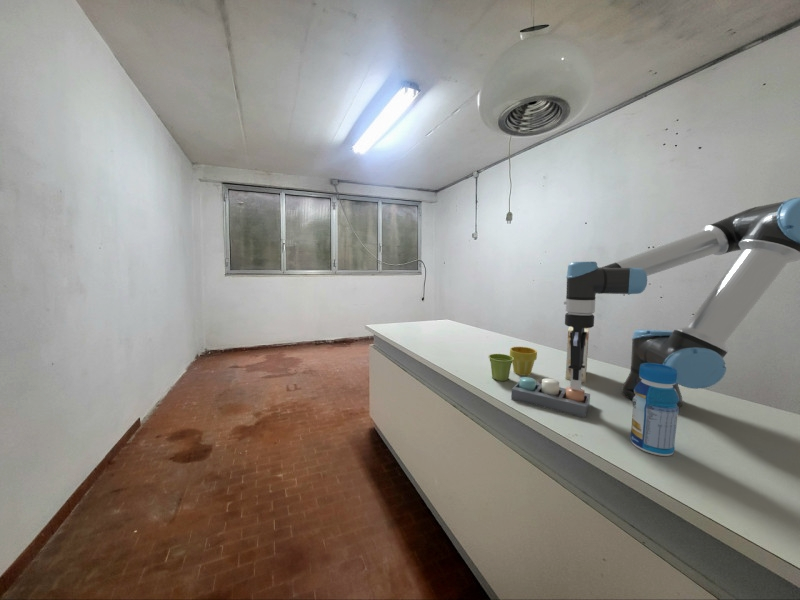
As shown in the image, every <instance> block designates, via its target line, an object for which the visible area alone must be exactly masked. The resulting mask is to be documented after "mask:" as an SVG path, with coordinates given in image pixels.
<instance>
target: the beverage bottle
mask: <svg viewBox="0 0 800 600" xmlns="http://www.w3.org/2000/svg"><path fill="white" fill-rule="evenodd" d="M639 377H640V378H641V379H642V380H641V381H640V382H639V383H638V384H637V385H636V386H635V388H634V393H635V396H634V397H633V400H631V401H632V412H631V413H632V414H631V428H630V438H629V440H630V442H631V443H632V444H633V446H635V447H636V448H637V449H639V450H641V451H643V452H645V453H648V454H651V455H655V456H661V457H669V456H672V455H673V454H674V453H675V444H676V443H675V441H676V433H677V426H678V425H677V423H678V422H677V421H678V415H679V414H680V409H679V408H680V407H678V406H677V403H678V402H679V396H678V393H677V391H676V390H675V388H674V387H673V386H672V385H675V384H676V381H677V370H676V369H675V368H673V367H670V366H667V365H662V364H656V363H642V364H641V365H640V369H639Z"/></svg>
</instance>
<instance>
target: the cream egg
mask: <svg viewBox="0 0 800 600" xmlns="http://www.w3.org/2000/svg"><path fill="white" fill-rule="evenodd" d="M541 383H542V391H541V393H544V394H548V395H552V396H557V397H558V396H559V387H560V382H559V380H556V379H554V378H542V379H541Z"/></svg>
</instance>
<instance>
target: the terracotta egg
mask: <svg viewBox="0 0 800 600" xmlns="http://www.w3.org/2000/svg"><path fill="white" fill-rule="evenodd" d="M565 389H566V397H565V399H570V400H574V401H578V402H583V403H584V395H585V393H586V392H585V390H584V389H582V388H581V390H580V391H579V390H575V389H570V386H567V387H565Z"/></svg>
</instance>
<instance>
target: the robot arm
mask: <svg viewBox="0 0 800 600" xmlns="http://www.w3.org/2000/svg"><path fill="white" fill-rule="evenodd" d="M736 251H740V253H739V254H738V255H737V257H736V258H735V259H734V261H733V262H732V263H731V265H730V266H729V268H728V269H727V270H726V272H725V273H724V274H723V275H722V277H721V278H720V279H719V281H718V282H717V284H715V287H713V289H712V291H711V292H710V293H709V295H708V296H707V297H706V298H705V300H704V301H703V303H701V305H700V307H699V308H698V309H697V311H696V312H695V313H694V315H693V316H692V317H691V319H690V320H689V321H688V322H687V324H686V325H685V326H683V327H678V328H675V329H674V330H665V329H648V328H647V329H636V330H634V332H633V335H632V338H631V341H632V345H631V357H630V359H631V360H630V371H629V374H628V375H627V377H626V380H625V381H624V384H623V385H622V391H621V392H622V393H621V394H622V395H623V396H624V397H626V398H628V399H630V400H631V401H633V397H634V396H635V393H634V388H635V386H636V385H637V384H638V383H639V382H640V381H641V380H642V379H641V378H640V377H639V369H640V365H641V364H642V363H656V364H662V365H667V366H670V367H673V368H675V369H676V370H677V381H676V384H675V385H672V386H673V387H674V388H675V390H676V391H677V393H678V396H679V402H678V403H677V406H678V408H681V407H682V405H683V395H682V392H681V389H680V386H681V387H684V388H687V389H693V390H694V389H695V390H698V389H706V388H710V387H712V386H715V385H716V384H717V383H719V382H720V381H721V380H722V379H723V378H724V377H725V375H726V371H727V367H726V366H725V365H726V362H725V360H724V358H725V356H726V355H727V354H728V352H729V351H728V348H727V346H726V342H728V340H729V339H730V338H731V336H732V335H733V333H734V332H735V331H736V330H737V328H738V327H739V326H740V325H741V323H742V322H743V321H744V320H745V318H746V317H747V316H748V315H749V313H750V312H751V311H752V309H754V307H755V306H756V304H758V302H759V300H760V299H761V298H762V297H763V295H764V294H765V293H766V291H767V290H768V289H769V288H770V286H772V284H773V283H774V282H775V280H776V279H777V277H779V275H780V274H781V272H783V270H784V268H785V267H786V266H788V264H790V263H792V262H797V261H800V197H794V198H790V199H787V200H783V201H780V202H775V203H770V204H765V205H760V206H754V207H752V208H749V209H745V210H743V211H741V212H738V213H735V214H733V215H730V216H728V217H725V218H723V219H721V220H718V221H716V222H714V223H711V224H708V225H705V226H703V227H702V228H701V230H700V231H698V232H696V233H694V234H691V235H688V236H685V237H682V238H680V239H677V240H674V241H671V242H669V243H666V244H662V245H660V246H657V247H654V248H651V249H649V250H647V251H644V252H641V253H638V254H635V255H632V256H629V257H627V258H624V259H621V260H619V261H615V262H614V263H610V264H607V265H605V266H602V267H598V263H597V262H596V261H572V262H569V263H568V265H567V272H566V277H565V278H566V296H565V297H566V298H565V301H564V302H563V305H565V312H566V313H565V315H564V324H565V326H567V327H568V328H569V327H573V331H572V332H570V338H571V339H570V344H571V365H570V366H569V368H571V380H570V385H569V387H570V389H575V390H579V391H580V390H581V389H582V382H581V381H582V369H581V368H585V366H583V365H582V364H583V356H584V346H585V340H586V337H587V332H584V328H589V329H591V328H593V327H594V324H595V315H594V314H595V312H596V294H597V295H598V294H601V295H602V294H604V295H605V294H606V295H607V294H608V295H609V294H610V295H640V294H641V293H643V292H644V291H645V290H646V288H647V285H648V276H651V275H655V274H657V273H660V272H663V271H666V270H669V269H672V268H675V267H678V266H681V265H684V264H687V263H689V262H694V261H696V260H698V259H699V260H700V259H702V258H705V257H708V256H711V255H714V256H722V255H726V254H729V253H733V252H736Z"/></svg>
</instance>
